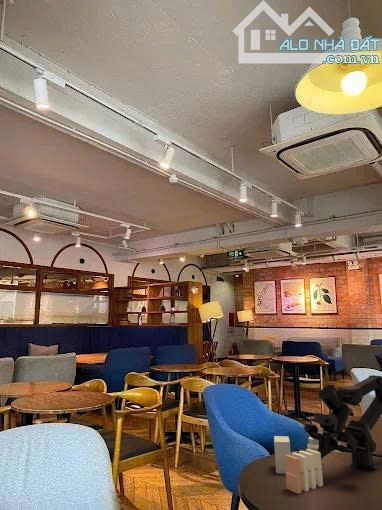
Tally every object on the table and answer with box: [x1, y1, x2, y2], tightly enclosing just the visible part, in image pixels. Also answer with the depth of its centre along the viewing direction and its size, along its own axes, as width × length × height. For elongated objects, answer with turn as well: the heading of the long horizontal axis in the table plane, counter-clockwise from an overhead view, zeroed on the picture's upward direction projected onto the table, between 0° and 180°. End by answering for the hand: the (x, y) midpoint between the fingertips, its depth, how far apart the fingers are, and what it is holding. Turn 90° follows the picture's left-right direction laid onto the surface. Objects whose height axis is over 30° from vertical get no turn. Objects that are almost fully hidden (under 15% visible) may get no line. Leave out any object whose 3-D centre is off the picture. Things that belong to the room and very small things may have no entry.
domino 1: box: [285, 454, 303, 495], centre depth 121 cm, size 1×5×10 cm, turn 31°
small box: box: [273, 435, 292, 475], centre depth 139 cm, size 8×6×10 cm
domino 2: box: [291, 452, 310, 492], centre depth 123 cm, size 1×5×10 cm, turn 32°
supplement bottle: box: [306, 436, 325, 468], centre depth 142 cm, size 5×5×10 cm
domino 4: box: [305, 448, 324, 488], centre depth 126 cm, size 1×5×10 cm, turn 31°
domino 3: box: [298, 450, 317, 490], centre depth 125 cm, size 1×5×10 cm, turn 31°
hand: (319, 457), depth 128 cm, fingers closed
